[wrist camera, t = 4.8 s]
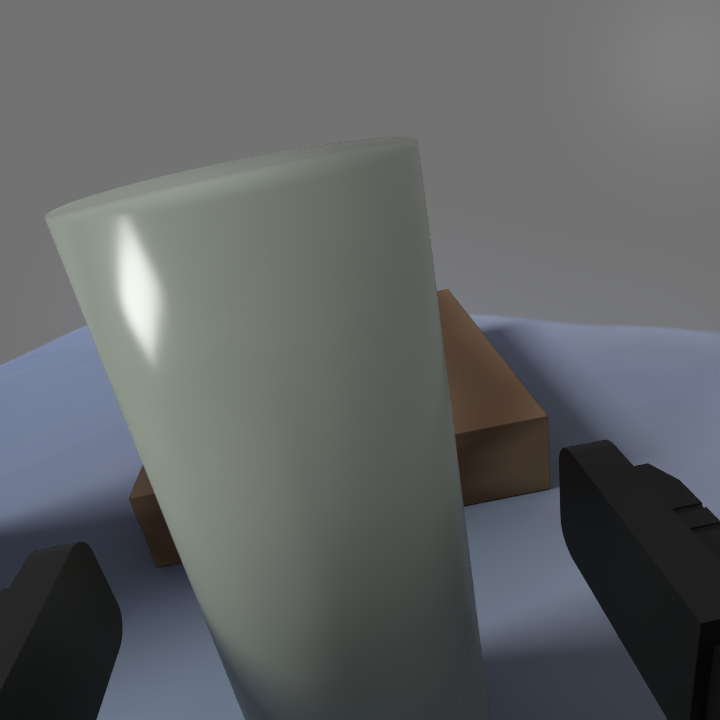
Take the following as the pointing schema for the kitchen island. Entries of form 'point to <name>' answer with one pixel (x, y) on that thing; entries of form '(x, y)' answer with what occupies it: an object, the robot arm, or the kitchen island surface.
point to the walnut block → (471, 427)
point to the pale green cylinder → (295, 420)
